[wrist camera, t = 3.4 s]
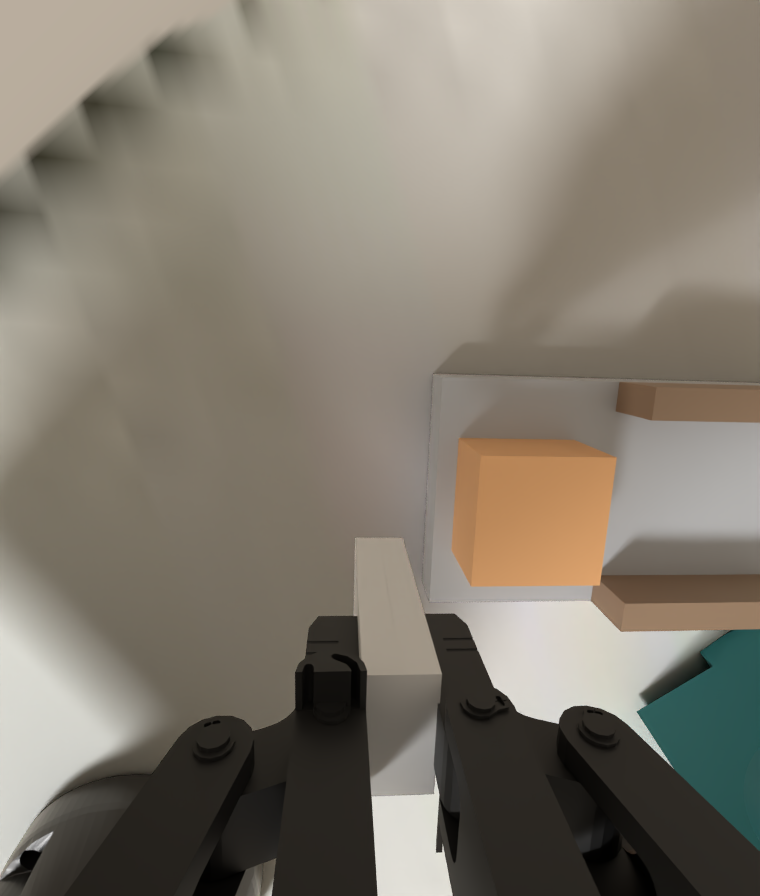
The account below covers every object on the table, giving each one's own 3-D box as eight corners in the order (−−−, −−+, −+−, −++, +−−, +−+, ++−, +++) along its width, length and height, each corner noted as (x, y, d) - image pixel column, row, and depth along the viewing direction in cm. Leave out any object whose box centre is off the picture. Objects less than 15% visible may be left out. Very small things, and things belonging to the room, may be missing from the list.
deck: (421, 580, 29) (440, 634, 24) (433, 373, 27) (456, 381, 21) (938, 576, 32) (1059, 624, 27) (991, 389, 29) (1136, 399, 24)
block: (451, 550, 26) (471, 586, 22) (458, 437, 25) (480, 455, 21) (561, 549, 27) (599, 585, 23) (574, 439, 25) (616, 457, 22)
